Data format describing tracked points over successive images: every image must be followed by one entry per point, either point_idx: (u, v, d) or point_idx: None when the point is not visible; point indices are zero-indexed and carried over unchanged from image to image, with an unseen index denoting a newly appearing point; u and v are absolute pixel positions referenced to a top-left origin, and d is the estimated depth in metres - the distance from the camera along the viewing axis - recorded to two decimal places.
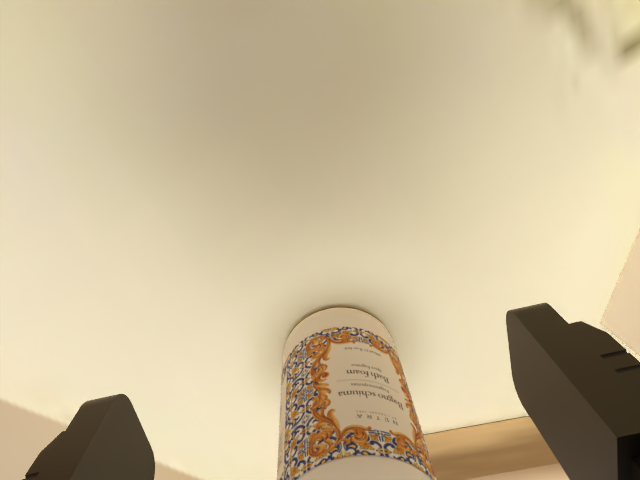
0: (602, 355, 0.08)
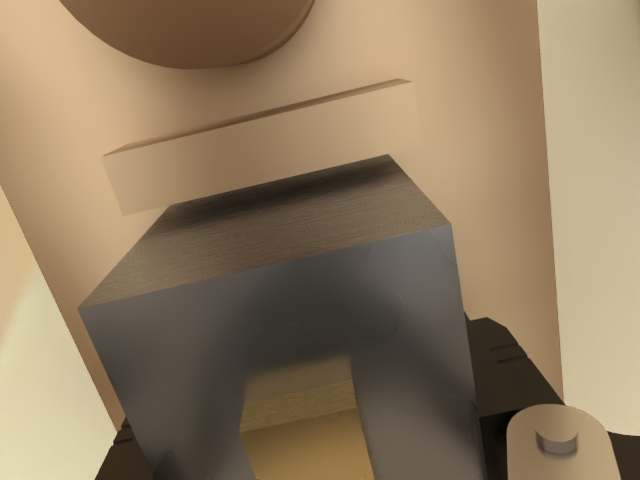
0: (496, 347, 0.09)
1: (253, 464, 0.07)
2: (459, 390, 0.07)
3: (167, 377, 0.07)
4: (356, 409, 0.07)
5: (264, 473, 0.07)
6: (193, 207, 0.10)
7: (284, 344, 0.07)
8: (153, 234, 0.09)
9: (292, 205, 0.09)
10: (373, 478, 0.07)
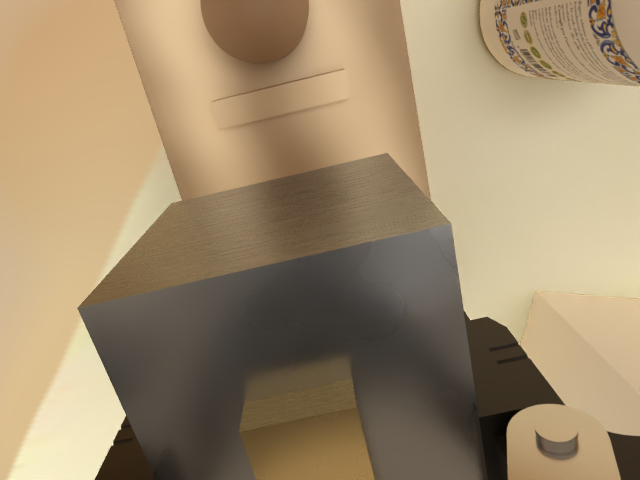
0: (496, 347, 0.09)
1: (252, 463, 0.07)
2: (459, 389, 0.07)
3: (167, 376, 0.07)
4: (356, 408, 0.07)
5: (264, 472, 0.07)
6: (193, 207, 0.10)
7: (284, 343, 0.07)
8: (153, 234, 0.09)
9: (293, 205, 0.09)
10: (373, 477, 0.07)
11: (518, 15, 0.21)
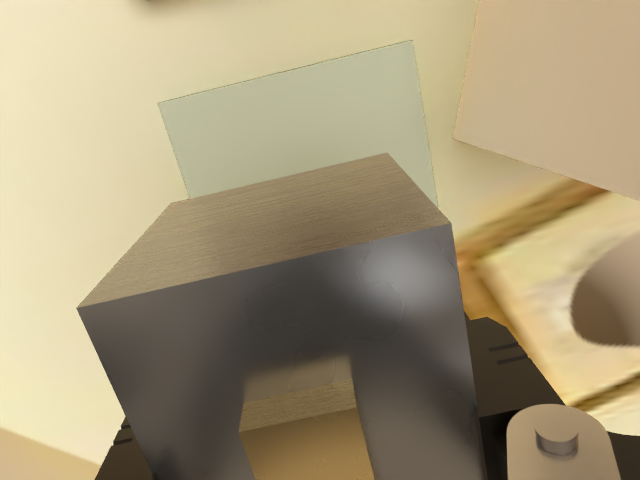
0: (496, 347, 0.09)
1: (253, 463, 0.07)
2: (459, 389, 0.07)
3: (167, 376, 0.07)
4: (356, 408, 0.07)
5: (264, 472, 0.07)
6: (193, 206, 0.10)
7: (284, 343, 0.07)
8: (153, 233, 0.09)
9: (292, 203, 0.09)
10: (373, 477, 0.07)
11: None
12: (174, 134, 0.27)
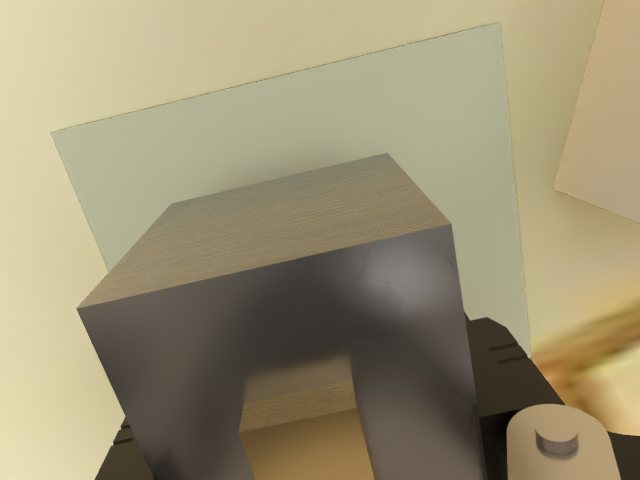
0: (496, 347, 0.09)
1: (252, 464, 0.07)
2: (459, 390, 0.07)
3: (167, 377, 0.07)
4: (356, 409, 0.07)
5: (264, 473, 0.07)
6: (193, 207, 0.10)
7: (284, 344, 0.07)
8: (153, 234, 0.09)
9: (292, 204, 0.09)
10: (373, 478, 0.07)
11: None
12: (83, 185, 0.16)
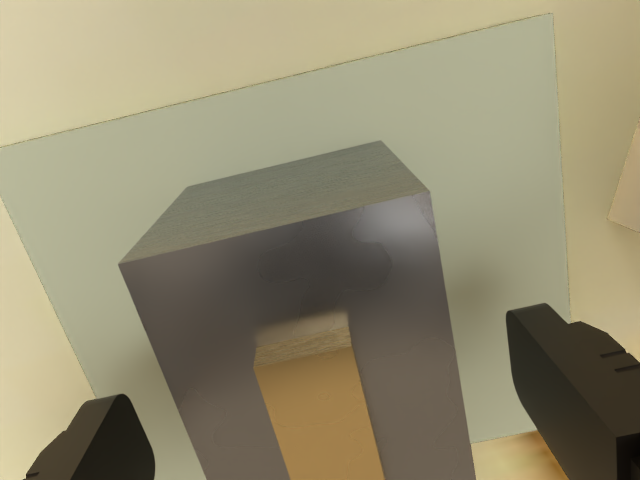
0: (601, 355, 0.08)
1: (264, 396, 0.08)
2: (439, 336, 0.08)
3: (192, 324, 0.08)
4: (351, 347, 0.08)
5: (274, 404, 0.08)
6: (207, 188, 0.12)
7: (291, 295, 0.08)
8: (174, 209, 0.10)
9: (297, 182, 0.10)
10: (366, 409, 0.08)
11: None
12: (23, 218, 0.13)
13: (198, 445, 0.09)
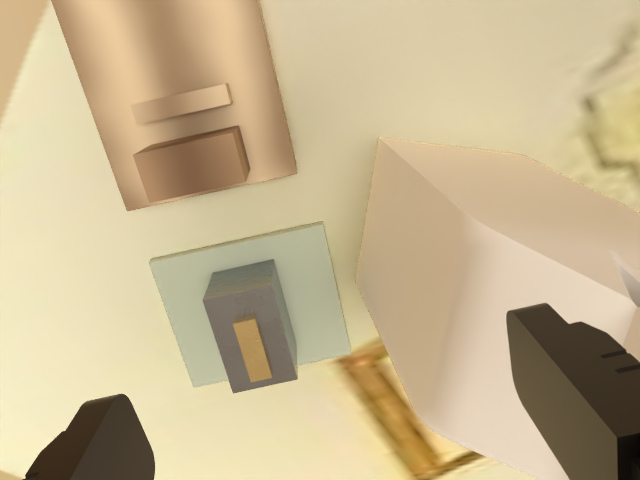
0: (602, 355, 0.08)
1: (235, 331, 0.35)
2: (277, 317, 0.35)
3: (218, 314, 0.35)
4: (255, 319, 0.35)
5: (237, 332, 0.35)
6: (220, 274, 0.38)
7: (241, 307, 0.35)
8: (211, 283, 0.37)
9: (245, 276, 0.37)
10: (259, 334, 0.35)
11: None
12: (160, 281, 0.39)
13: (218, 345, 0.36)
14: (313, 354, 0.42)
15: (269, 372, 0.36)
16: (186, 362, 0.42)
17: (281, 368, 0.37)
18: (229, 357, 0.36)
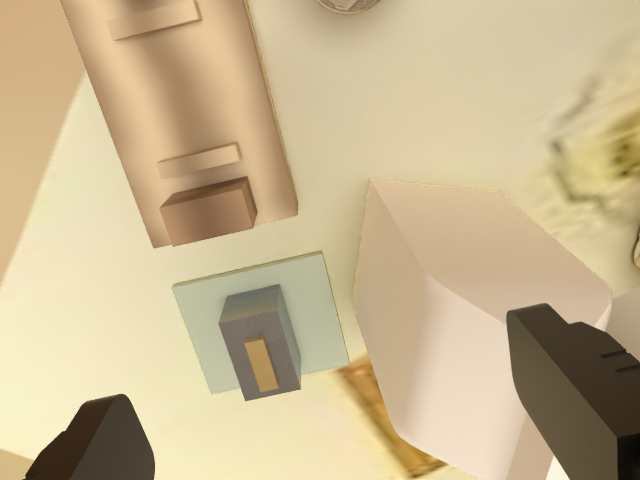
0: (602, 355, 0.08)
1: (246, 349, 0.41)
2: (282, 337, 0.41)
3: (232, 334, 0.41)
4: (263, 339, 0.40)
5: (248, 350, 0.41)
6: (233, 298, 0.44)
7: (251, 329, 0.41)
8: (225, 306, 0.43)
9: (255, 301, 0.43)
10: (266, 351, 0.41)
11: None
12: (181, 304, 0.45)
13: (232, 360, 0.42)
14: (315, 365, 0.48)
15: (275, 383, 0.42)
16: (205, 372, 0.48)
17: (286, 379, 0.43)
18: (241, 371, 0.42)
